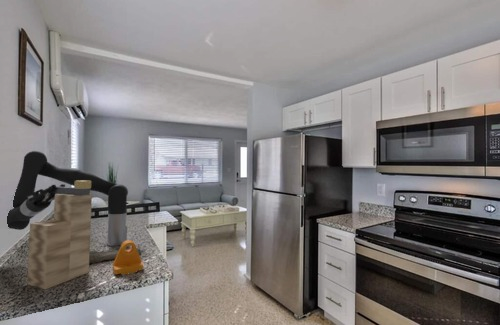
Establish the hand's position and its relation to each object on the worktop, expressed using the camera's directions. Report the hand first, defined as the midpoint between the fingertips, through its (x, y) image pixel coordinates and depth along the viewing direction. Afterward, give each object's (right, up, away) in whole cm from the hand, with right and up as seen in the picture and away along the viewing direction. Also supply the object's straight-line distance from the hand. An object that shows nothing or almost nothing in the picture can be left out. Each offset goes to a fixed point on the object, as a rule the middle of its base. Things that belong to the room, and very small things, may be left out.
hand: (59, 186), depth 105 cm
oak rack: (+6, -35, -8) cm, 36 cm away
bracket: (+28, -36, +1) cm, 46 cm away
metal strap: (+5, -3, -2) cm, 6 cm away
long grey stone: (+10, -36, +13) cm, 39 cm away
